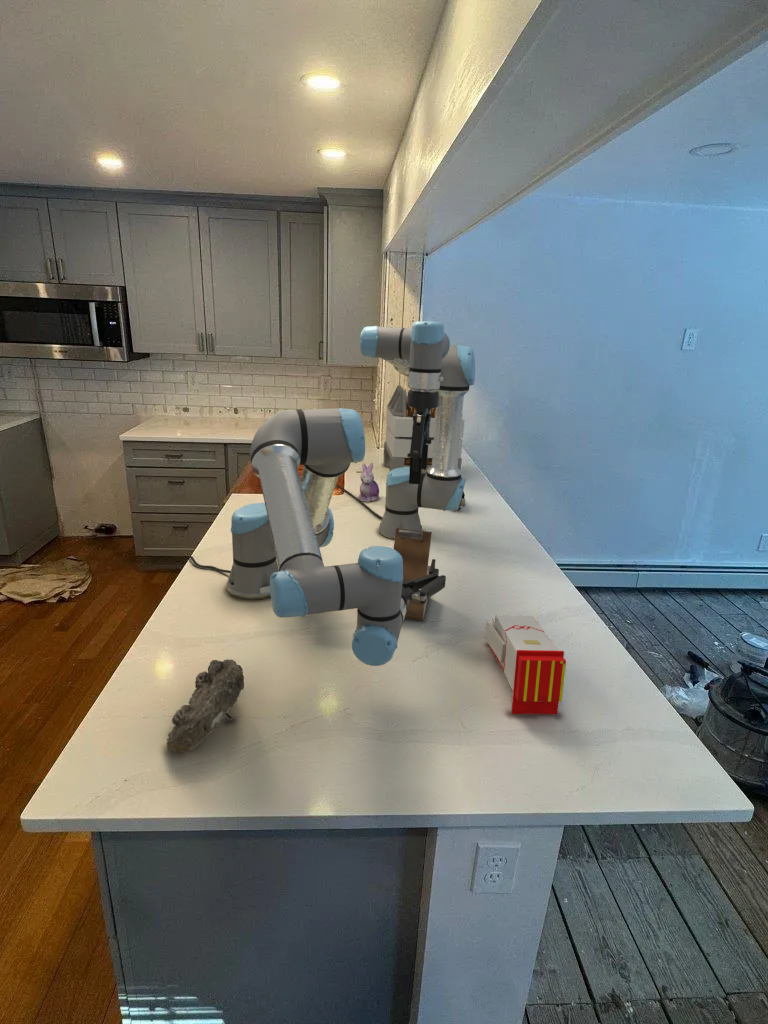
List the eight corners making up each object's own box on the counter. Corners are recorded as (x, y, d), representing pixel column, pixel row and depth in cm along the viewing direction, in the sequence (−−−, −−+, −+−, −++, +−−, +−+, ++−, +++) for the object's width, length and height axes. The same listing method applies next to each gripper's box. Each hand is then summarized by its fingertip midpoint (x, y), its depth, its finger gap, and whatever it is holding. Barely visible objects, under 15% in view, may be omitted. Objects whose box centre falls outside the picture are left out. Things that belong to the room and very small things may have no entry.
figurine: (363, 503, 228) (365, 467, 223) (353, 496, 237) (354, 461, 232) (384, 501, 233) (386, 465, 227) (373, 493, 241) (374, 459, 236)
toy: (530, 600, 137) (574, 657, 108) (525, 651, 140) (567, 720, 111) (480, 599, 137) (511, 656, 107) (477, 651, 139) (506, 719, 110)
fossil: (192, 660, 117) (244, 628, 112) (224, 691, 120) (276, 661, 115) (142, 746, 98) (202, 712, 93) (182, 779, 101) (242, 748, 96)
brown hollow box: (395, 592, 158) (397, 562, 155) (428, 597, 157) (430, 566, 154) (387, 616, 146) (389, 583, 143) (422, 620, 145) (425, 587, 142)
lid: (396, 528, 146) (392, 522, 137) (431, 532, 144) (430, 526, 136) (389, 581, 143) (385, 578, 135) (425, 586, 142) (423, 583, 133)
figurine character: (465, 515, 224) (460, 499, 237) (467, 498, 221) (462, 483, 234) (448, 515, 224) (444, 499, 237) (450, 498, 220) (445, 482, 234)
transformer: (382, 463, 289) (386, 382, 275) (445, 464, 293) (451, 384, 279) (390, 482, 257) (394, 392, 243) (460, 483, 261) (468, 394, 247)
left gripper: (324, 615, 112) (349, 569, 132) (450, 632, 108) (457, 582, 128) (325, 581, 110) (350, 539, 129) (454, 597, 106) (460, 552, 126)
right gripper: (434, 398, 122) (427, 492, 129) (443, 384, 145) (437, 464, 153) (400, 396, 123) (395, 488, 131) (414, 382, 147) (410, 462, 154)
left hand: (403, 561), depth 129 cm, fingers open, 13 cm apart
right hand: (418, 476), depth 142 cm, fingers open, 13 cm apart
